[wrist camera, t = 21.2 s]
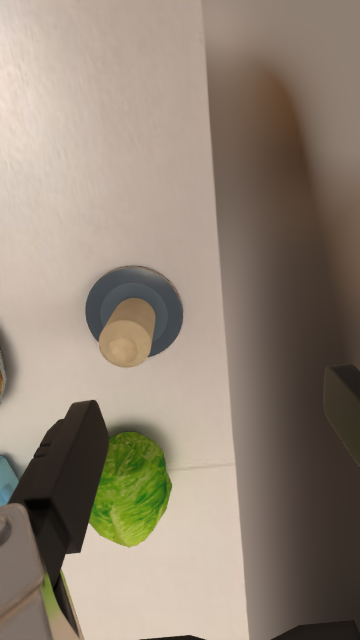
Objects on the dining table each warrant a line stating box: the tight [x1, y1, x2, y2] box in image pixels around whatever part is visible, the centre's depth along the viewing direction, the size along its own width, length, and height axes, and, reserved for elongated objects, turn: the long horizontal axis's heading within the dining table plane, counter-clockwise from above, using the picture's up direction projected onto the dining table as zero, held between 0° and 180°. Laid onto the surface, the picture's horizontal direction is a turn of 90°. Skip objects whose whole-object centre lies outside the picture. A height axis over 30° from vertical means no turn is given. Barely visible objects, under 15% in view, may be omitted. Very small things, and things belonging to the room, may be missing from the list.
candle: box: [99, 298, 155, 368], centre depth 34 cm, size 6×6×10 cm
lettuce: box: [89, 432, 172, 547], centre depth 44 cm, size 14×20×12 cm
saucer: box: [86, 266, 183, 357], centre depth 39 cm, size 13×13×1 cm
